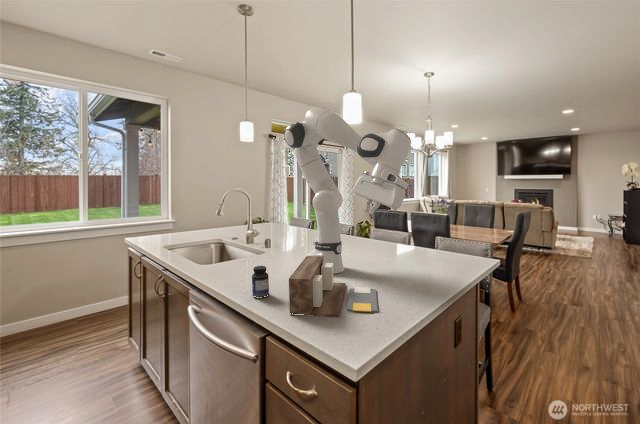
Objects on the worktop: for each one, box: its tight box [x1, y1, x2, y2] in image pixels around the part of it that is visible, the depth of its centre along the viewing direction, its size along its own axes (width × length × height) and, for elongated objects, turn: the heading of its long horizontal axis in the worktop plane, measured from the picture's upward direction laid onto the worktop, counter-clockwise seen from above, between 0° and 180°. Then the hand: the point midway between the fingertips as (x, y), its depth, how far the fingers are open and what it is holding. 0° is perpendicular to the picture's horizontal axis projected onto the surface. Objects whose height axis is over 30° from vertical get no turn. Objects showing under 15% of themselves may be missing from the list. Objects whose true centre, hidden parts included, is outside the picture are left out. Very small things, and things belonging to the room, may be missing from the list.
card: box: [346, 286, 378, 313], centre depth 109 cm, size 10×22×1 cm, turn 171°
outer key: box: [313, 275, 323, 307], centre depth 103 cm, size 4×6×9 cm, turn 172°
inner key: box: [321, 263, 335, 290], centre depth 118 cm, size 4×6×9 cm, turn 172°
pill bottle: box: [251, 265, 270, 297], centre depth 114 cm, size 6×6×11 cm
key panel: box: [288, 255, 346, 318], centre depth 110 cm, size 16×30×12 cm, turn 171°
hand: (368, 213), depth 105 cm, fingers closed
